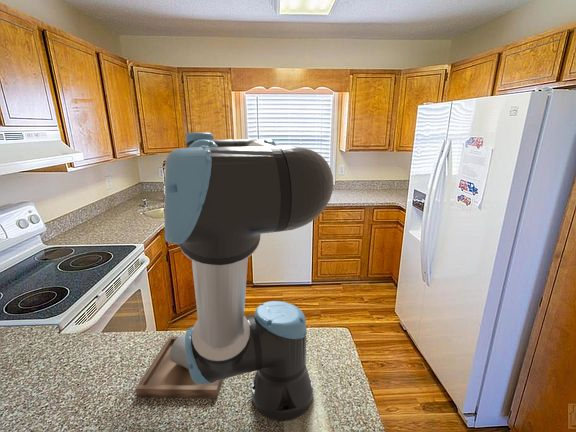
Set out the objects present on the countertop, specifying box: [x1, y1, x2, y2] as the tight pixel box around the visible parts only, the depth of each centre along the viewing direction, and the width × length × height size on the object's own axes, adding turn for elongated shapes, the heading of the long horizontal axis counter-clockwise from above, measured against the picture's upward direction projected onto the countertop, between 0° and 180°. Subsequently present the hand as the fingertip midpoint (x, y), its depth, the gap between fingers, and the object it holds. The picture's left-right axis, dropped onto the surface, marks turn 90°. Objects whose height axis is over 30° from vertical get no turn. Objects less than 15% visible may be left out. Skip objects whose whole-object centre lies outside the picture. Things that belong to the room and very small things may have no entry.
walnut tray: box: [135, 336, 224, 399], centre depth 81 cm, size 20×20×2 cm
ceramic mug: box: [170, 333, 189, 369], centre depth 82 cm, size 11×8×8 cm
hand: (209, 257), depth 90 cm, fingers open, 13 cm apart
